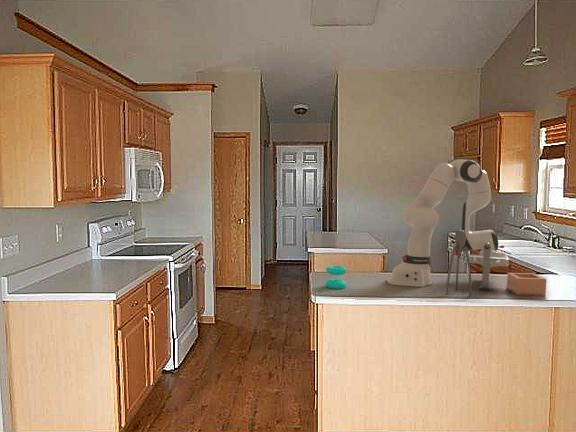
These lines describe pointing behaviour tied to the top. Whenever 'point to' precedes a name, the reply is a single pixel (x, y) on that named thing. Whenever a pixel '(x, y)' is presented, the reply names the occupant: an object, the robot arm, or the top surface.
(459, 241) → the juicer
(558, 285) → the top surface
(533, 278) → the orange open box
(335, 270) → the donuts
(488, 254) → the pepper mill
